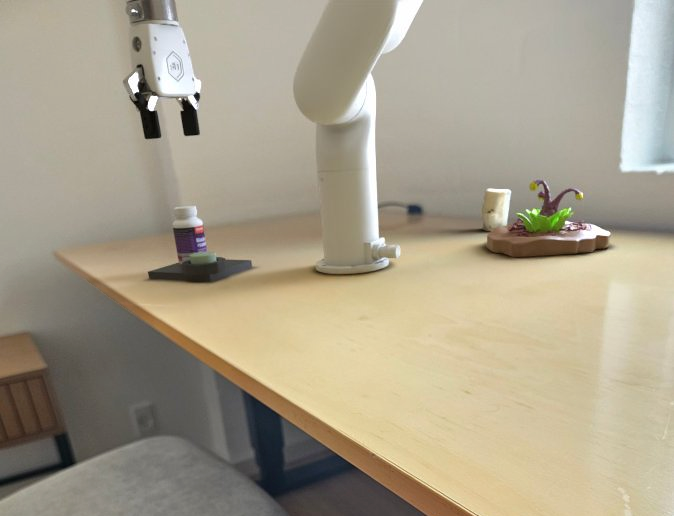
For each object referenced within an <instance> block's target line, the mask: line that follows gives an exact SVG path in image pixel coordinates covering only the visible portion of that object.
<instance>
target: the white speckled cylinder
mask: <svg viewBox="0 0 674 516" xmlns="http://www.w3.org/2000/svg"><path fill="white" fill-rule="evenodd" d="M511 195H512V191H511V190H510V189H500V188H486V189H485V190H484V196H483V201H482V206H481V221H482V229H481V230H483V231H486V232H491V231H492V230H494V229H497V228H501V227H503V226H506V225H508V218H509V209H510V202H511V201H510V200H511Z"/></svg>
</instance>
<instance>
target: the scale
mask: <svg viewBox="0 0 674 516" xmlns="http://www.w3.org/2000/svg"><path fill="white" fill-rule="evenodd" d="M216 259H217V261H215V262H211V263H205V264H191V262H190V260H188V261H184V262H183V263H182V264H181V265H180V264H179V262H175V263H172V264H169V265H165V266H162V267H159V268H155V269H152V270H148V271H147V274H148V275H147V276H148V280H155V281H156V280H159V281H177V282H178V281H179V282H196V283H197V282H199V283H213V282H216V281H219V280H221V279H224V278H227V277H230V276H233V275H235V274H238V273H241V272H243V271H247V270H250V269H252V268H253V263H252V260H251V259H229V258H225V257H222V256H216Z"/></svg>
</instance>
